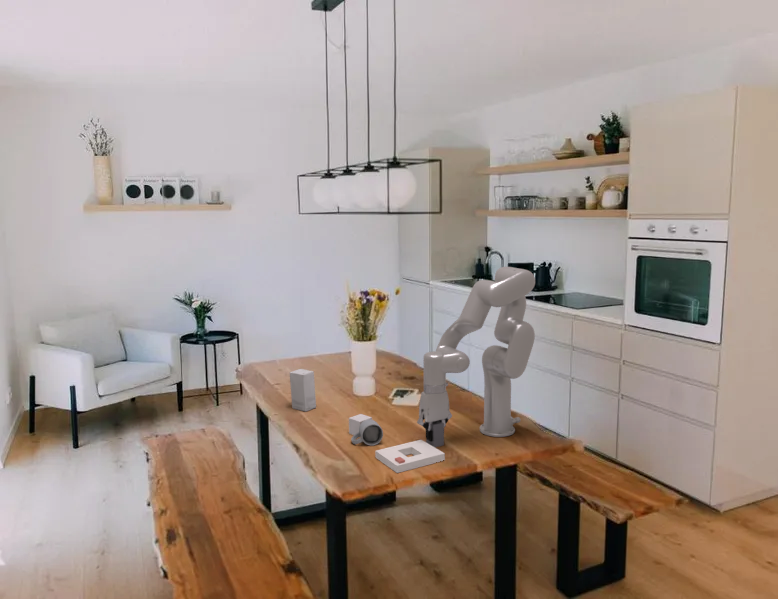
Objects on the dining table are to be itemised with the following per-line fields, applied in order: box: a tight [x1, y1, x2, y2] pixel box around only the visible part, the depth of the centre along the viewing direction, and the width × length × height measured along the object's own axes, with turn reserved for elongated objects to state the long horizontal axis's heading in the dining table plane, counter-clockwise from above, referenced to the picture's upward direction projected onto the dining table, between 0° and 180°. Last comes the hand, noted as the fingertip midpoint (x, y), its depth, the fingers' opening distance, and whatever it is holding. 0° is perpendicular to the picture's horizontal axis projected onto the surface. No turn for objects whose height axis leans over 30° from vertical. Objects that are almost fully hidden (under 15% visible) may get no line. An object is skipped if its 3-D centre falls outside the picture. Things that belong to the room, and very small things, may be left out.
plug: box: [425, 420, 445, 448], centre depth 220 cm, size 4×5×10 cm
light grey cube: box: [348, 413, 373, 438], centre depth 231 cm, size 6×6×6 cm
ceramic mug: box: [350, 419, 384, 447], centre depth 223 cm, size 11×8×8 cm
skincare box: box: [289, 368, 317, 412], centre depth 259 cm, size 8×7×16 cm
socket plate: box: [374, 439, 446, 474], centre depth 208 cm, size 18×14×3 cm
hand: (434, 438), depth 220 cm, fingers closed on plug, 4 cm apart
